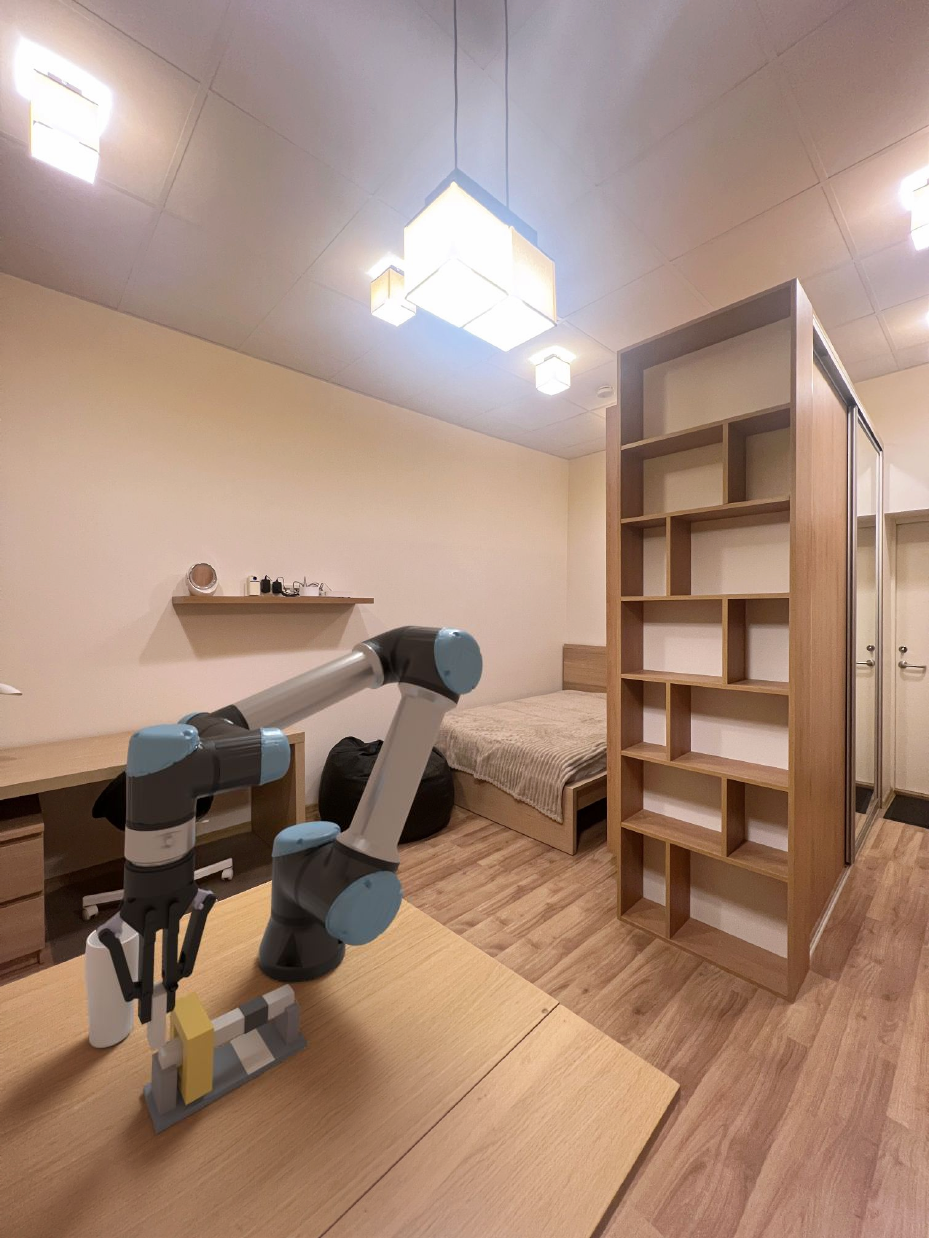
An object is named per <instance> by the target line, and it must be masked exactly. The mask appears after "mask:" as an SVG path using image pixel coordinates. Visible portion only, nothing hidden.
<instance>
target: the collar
mask: <svg viewBox="0 0 929 1238" xmlns="http://www.w3.org/2000/svg"><path fill="white" fill-rule="evenodd" d="M169 1013H170V1015H169V1016H170V1018H169V1021H170V1022H169V1040H172V1039H174V1038H176V1037H178V1036H180V1039H181V1041H182V1043H183V1064H182V1065H180V1066H178V1067H177V1084H178V1086H179V1089H180V1091H181V1094H182V1097H183V1099H184V1102H185V1104H186V1105H187V1104H189V1103H190V1102H192V1101H194V1100H196V1099H198V1098H199V1097H201V1096H203V1095H205V1094H206V1093H208V1092H210V1091H212V1077H213V1050H214V1049H215V1048H214V1026H213V1024H212V1022H211V1019H210V1017H209V1015H208V1013H207V1011H206V1009H205V1007H204V1006H203V1003H202V1001H201V999H200V997H199V996H198V993H197V992H196V991H194V992H190V993H188V994H186V995H184V996H181V997H179V998H177V999H175V1008H174V1010H173V1011H171V1012H169Z"/></svg>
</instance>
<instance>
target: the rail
mask: <svg viewBox="0 0 929 1238" xmlns="http://www.w3.org/2000/svg"><path fill="white" fill-rule="evenodd" d="M289 984H290V983H286V984H284V985H282V986H280V987H279V988H276V989H274V990H272V991H270V992H268V993H266V994H264V995H263V994H260V995H258V996H256V997H253V998H252V999H249V1000H247V1001H246V1002H242V1003H241V1004H239V1005H238V1007H237V1008H234V1009H233V1010H230V1011H229V1012H226V1013H224V1014H222V1015H220V1016H217V1017H216V1018H213V1019H212V1020H211V1019H210V1020H211V1022H212V1024H213V1026H214V1048H213V1077H212V1091H210V1092H208V1093H206V1094H205V1095H203V1096H201V1097H199V1098H198V1099H196V1100H194V1101H192V1102H190V1103H189V1104H187V1105H186V1104H185V1102H184V1099H183V1097H182V1094H181V1091H180V1089H179V1086H178V1084H177V1067H178V1066H180V1065H182V1064H183V1043H182V1041H181V1039H180V1036H178V1037H176V1038H174V1039H172V1040H170V1039H169V1040H168V1041H166V1044H165V1045H164V1046H162V1047H160V1048H158V1049H157V1051H156V1052H154V1053H152V1057H151V1078H150V1079H151V1082H149V1083H147V1084H145V1085H143V1086H142V1087H143V1088H142V1093H143V1096H144V1099H145V1103H146V1106H147V1109H148V1112H149V1115H150V1119H151V1121H152V1124H153V1128H154V1131H155V1134H156V1135H158V1134H159V1133H161V1132H163V1131H165V1130H167V1129H168V1128H169V1127H171V1126H174V1125H175V1124H176V1123H179V1122H180V1121H182V1120H184V1119H185V1118H187V1117H188V1116H190V1115H192V1114H194V1113H195V1112H197V1111H199V1110H200V1109H203V1108H205V1107H206V1106H207V1105H209V1104H211V1103H214V1101H216V1100H219V1098H222V1097H223V1096H225V1095H227V1094H228V1093H230V1092H232V1091H234V1090H235V1089H237V1088H239V1087H240V1086H242V1085H244V1084H245V1083H247V1082H249V1081H251V1080H252V1079H254V1078H255V1077H258V1076H259V1075H261V1074H263V1073H264V1072H266V1071H268V1070H269V1069H271V1068H273V1067H274V1066H276V1065H278V1064H280V1063H282V1062H283V1061H285V1060H287V1059H289V1058H291V1057H292V1056H295V1054H298V1053H299V1052H300V1051H302V1050H304V1049H306V1048H307V1045H308V1041H307V1040H306V1039H305V1037H304V1035H303V1034H302V1032H301V1031H300V1022H301V1021H300V1017H301V1016H300V1015H301V1005H300V1004H299V1003H298V1001H297V1000H296V999H295V991H294V989H293V988H292V987H291V986H290V985H289Z"/></svg>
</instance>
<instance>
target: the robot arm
mask: <svg viewBox="0 0 929 1238" xmlns="http://www.w3.org/2000/svg"><path fill="white" fill-rule="evenodd" d="M483 665H484V663H483V655H482V653H481V649H480V645H479V643H478V642H477V640H476V638H475V637H474V635H472V634H471V633H469V632H467V631H466V630H462V629H456V628H453V627H434V626H432V627H431V626H423V625H422V626H420V625H405V626H400V627H397V628H393V629H390V630H387V631H385V632H383V633H380V634H377V635H374V636H373V637H370V638H369V639H366V640H364V641H361V642H359V643H356V644H355V645H354V646H353V647H352V648H351V652H348V653H347V654H344V655H342V656H339V657H337V658H335V659H332V660H331V661H327V662H326V663H324V664H321V665H319V666H317V667H315V668H311V669H310V670H307V671H305V672H303V673H300V674H298V675H296V676H293V677H292V678H289V679H287V680H285V681H282V682H280V683H277V684H276V685H273V686H270V687H268V688H266V689H264V690H262V691H259V692H257V693H255V694H252V695H250V696H248V697H246V698H245V697H244V698H243V699H240V700H238V701H236V702H234V703H231V704H229V705H225V706H224V707H221V708H219V709H217V710H214V711H212V712H208V711H206V712H205V711H197V712H196V711H195V712H192V713H189V714H187V715H184V716H183V717H181V719H179V720H178V722H177V723H172V724H169V723H168V724H167V723H165V724H155V725H150V726H147V727H143V728H139V729H138V730H137V731H135V732H134V733H133V734H132V735H131V736H130V738H129V741H128V747H127V757H126V765H125V769H124V772H125V774H126V775H125V776H126V777H125V779H126V780H125V783H126V785H125V786H126V787H125V789H126V790H125V796H126V797H125V798H126V801H125V802H126V803H125V805H126V808H125V809H126V811H125V813H126V814H125V829H124V857H125V859H126V860H125V862H124V865H123V866H124V867H123V869H124V870H123V896H122V899H121V901H120V903H119V905H118V908H117V913H116V914H115V915H113V916H112V917H111V918H110V919H108V920H107V921H100V922H99V923H97V925H96V926H95V930H96V932H97V935H98V939H99V941H100V942H101V943H102V944H103V945H104V946H105V947H107V948H108V949H109V952H110V955H111V959H112V962H113V965H114V968H115V972H116V975H117V978H118V982H119V985H120V988H121V991H122V994H123V997H124V1000H125V1002H130V1001H132V1000H133V999H135V1000H137V1016H138V1020H139V1022H140V1024H141V1025H142V1026H144V1025H145V1024H146V1039H147V1043H148V1045H149V1047H150V1050H151V1052H154V1051H155V1050H158V1048H160V1047H162V1046H164V1045H165V1044H166V1042H167V1041H166V1040H167V1039H166V1037H167V1036H166V1035H167V1014H169V1013H170V1012H171V1011H173V1010H174V1008H175V1000H177V999H176V995H177V994H176V991H178V989H179V987H180V985H179V982H180V981H181V980H183V979H187V978H189V977H191V975H192V974H193V972H194V968H195V965H196V961H197V957H198V952H199V950H200V946H201V943H202V942H201V941H202V938H203V934H204V931H205V927H206V923H207V919H208V915H209V913H210V912H211V910H212V908H213V907H214V905H215V904H216V902H217V897H216V895H215V894H214V893H213V891H212V890H211V889H210V888H209V887H205V888H204V889H202V888H201V889H200V888H199V886H198V884H197V883H196V881H195V868H196V867H195V866H196V863H195V859H196V850H195V848H194V847H195V844H196V815H197V803H198V802H197V801H198V799H200V798H201V799H202V798H206V797H210V796H214V795H219V794H223V793H228V792H233V791H236V790H240V789H246V788H251V787H254V786H259V787H260V786H263V785H264V784H267V783H270V782H273V781H276V780H279V779H282V778H283V777H284V776H285V775H286V774H287V772H288V770H289V768H290V763H291V746H290V742H289V740H288V738H287V737H288V736H287V735H286V734H285V732H284V731H283V730H286V729H287V728H289V727H292V726H294V725H295V724H297V723H299V722H302V721H303V720H305V719H307V718H310V717H312V716H313V715H315V714H317V713H319V712H321V711H323V710H325V709H328V708H329V707H331V706H333V705H335V704H337V703H339V702H342V701H343V700H345V699H347V698H349V697H351V696H353V695H355V694H357V693H360V692H361V691H364V690H365V689H371V690H377V689H380V688H381V687H384V686H385V685H389V684H395V683H397V688H398V690H399V692H400V695H401V696H400V697H401V698H400V699H399V703H398V705H397V708H396V711H394V712H395V713H394V716H393V718H392V720H391V723H390V725H389V727H388V730H387V731H386V735H385V737H384V740H383V743H382V746H381V748H380V750H379V753H378V756H377V758H376V760H375V763H374V766H373V768H372V770H371V773H370V775H369V777H368V780H367V783H366V786H365V787H364V791H363V792H362V796H361V798H360V801H359V802H358V805H357V809H356V810H355V813H354V815H353V818H352V821H351V823H350V825H349V828H347V829H346V830H344V831H343V832H341V827H340V826H339V825H338V824H337V823H335V822H331V821H320V820H319V821H318V820H317V821H310V822H309V821H308V822H303V823H298V824H295V825H292V826H288V827H287V828H284V829H283V830H281V831H280V832H279V833H278V834H277V835H276V836H275V838H274V840H273V845H272V852H271V858H272V861H271V862H272V865H271V869H272V870H271V890H270V891H271V894H270V897H271V898H270V917H269V919H268V922H267V924H266V927H265V931H264V933H263V935H262V937H261V938H262V939H261V941H260V944H259V948H258V967H259V969H260V971H261V973H262V974H264V976H265V977H267V978H269V979H270V980H273V981H275V982H279V983H286V984H297V983H305V982H309V981H312V980H316V979H318V978H320V977H323V976H325V975H327V974H328V973H330V972H332V970H334V969H335V968H336V967H338V965H340V963H341V962H342V960H343V959H344V957H345V954H346V947H347V945H348V946H353V947H355V946H356V947H357V946H359V947H360V946H363V945H367V944H369V943H371V942H372V941H374V940H376V939H377V938H378V937H379V936H380V935H382V934H384V932H385V931H386V930H387V929H388V928H389V927H390V925H391V924H392V923H393V922H394V920H395V918H396V917H397V915H398V913H399V910H400V909H401V908H400V907H401V905H402V902H403V895H404V891H403V890H402V888H403V887H402V886H403V885H402V883H401V881H400V879H399V877H398V875H397V872H398V869H399V866H400V864H401V861H402V858H401V855H400V853H399V851H398V843H399V841H400V837H401V835H402V832H403V830H404V826H405V823H406V821H407V819H408V816H409V813H410V810H411V807H412V805H413V802H414V800H415V797H416V794H417V791H418V788H419V785H420V783H421V780H422V777H423V774H424V772H425V770H426V766H427V764H428V761H429V759H430V756H431V754H432V750H433V748H434V745H435V742H436V740H437V737H438V734H439V731H440V729H441V726H442V723H443V721H444V718H445V715H446V713H447V712H450V711H451V710H455V709H456V708H457V706H458V703H459V700H460V698H461V696H463V695H467V694H469V693H471V692H472V691H473V690H475V689H476V688H477V686H478V685H479V683H480V681H481V679H482V678H481V677H482V673H483V667H484V666H483ZM191 905H192V908H191V912H190V916H189V919H188V923H187V926H186V929H185V934H184V938H183V941H182V945H181V949H180V952H179V934H180V929H181V928H180V923H181V919H183V917H184V915H185V913H186V912H187V911H188V909H189V907H191ZM123 922H126V923H127V924H128V925H129V926H130V927H131V928H133V929H134V930H135V931H136V932H137V933H138V934H139V953H138V981H136V982H133V981H132V977H131V974H130V971H129V967H128V964H127V961H126V957H125V954H124V950H123V947H122V944H121V942H120V939H119V937H120V936H121V934H122V932H123V929H122V924H123ZM161 930H162V936H161V939H162V941H161V975H160V976H161V979H162V980H159V981H157V982H155V983H154V980H155V951H156V950H155V949H156V948H155V947H156V945H155V943H156V941H157V938H156V937H157V932H159V931H161Z"/></svg>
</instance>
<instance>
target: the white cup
mask: <svg viewBox="0 0 929 1238" xmlns="http://www.w3.org/2000/svg"><path fill="white" fill-rule="evenodd" d="M122 929H123V932H122V934H121V936H120V937H119V939H120V942H121V944H122V947H123V950H124V954H125V957H126V961H127V964H128V967H129V971H130V974H131V977H132V981H133V982H136V981H138V953H139V934H138V933H137V932H136V931H135V930H134V929H133V928H131V927H130V926H129V925H128V924H127V923H126V922H123V924H122ZM85 945H86V946H85V953H84V975H85V977H84V978H85V990H86V992H85V993H86V1002H87V1003H86V1005H87V1016H88V1042H89V1044H90V1045H91V1046H92V1047H93V1048H97V1049H104V1048H108V1047H113V1046H115V1045H117V1044H119V1043H120V1042H121V1041H123V1040H125V1038H126V1037H127V1036H129V1034H130V1032H131V1031H132V1029H133V1027H134V1015H135V1014H134V1013H135V1006H136V999H133V1000H132V1001H130V1002H125V1000H124V997H123V994H122V991H121V988H120V985H119V982H118V978H117V975H116V972H115V968H114V965H113V962H112V959H111V955H110V952H109V949H108V948H107V947H105V946H104V945H103V944H102V943H101V942H100V941H99V939H98V935H97V932H96V929H94V930H93V931H92V932H90V934H89V935H88V936H87V938H86V941H85Z"/></svg>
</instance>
